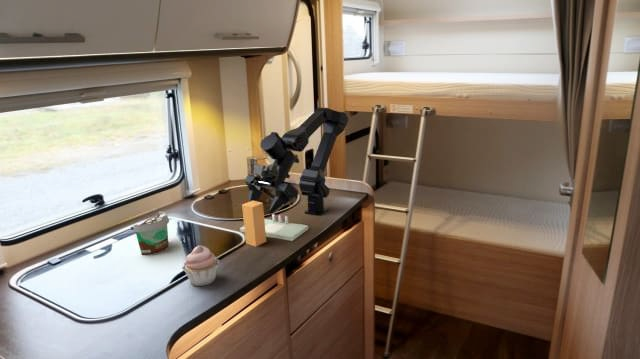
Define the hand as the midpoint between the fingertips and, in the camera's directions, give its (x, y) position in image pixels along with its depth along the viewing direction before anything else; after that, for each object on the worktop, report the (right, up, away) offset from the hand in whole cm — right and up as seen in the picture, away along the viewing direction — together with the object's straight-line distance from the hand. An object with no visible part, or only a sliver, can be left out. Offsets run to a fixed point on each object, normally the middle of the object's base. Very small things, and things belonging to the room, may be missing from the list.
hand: (258, 210), depth 138 cm
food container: (-30, -12, 0) cm, 32 cm away
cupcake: (-12, -17, -20) cm, 29 cm away
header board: (+4, -7, +9) cm, 12 cm away
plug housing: (-1, -10, +1) cm, 10 cm away
